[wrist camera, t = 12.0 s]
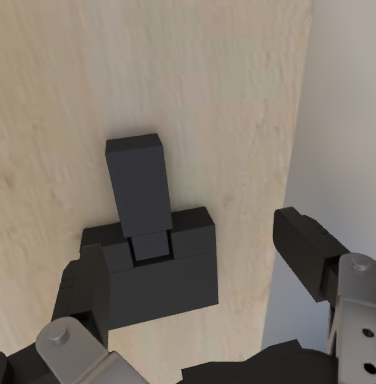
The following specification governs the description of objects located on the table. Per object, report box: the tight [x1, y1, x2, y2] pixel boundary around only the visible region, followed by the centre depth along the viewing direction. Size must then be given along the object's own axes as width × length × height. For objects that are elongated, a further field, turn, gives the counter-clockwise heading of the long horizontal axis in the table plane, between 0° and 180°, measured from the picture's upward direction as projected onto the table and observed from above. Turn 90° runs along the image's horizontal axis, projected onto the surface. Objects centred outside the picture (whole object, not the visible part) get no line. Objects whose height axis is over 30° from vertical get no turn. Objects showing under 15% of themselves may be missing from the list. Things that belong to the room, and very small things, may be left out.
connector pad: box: [105, 133, 173, 261], centre depth 30 cm, size 5×12×4 cm, turn 5°
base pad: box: [79, 207, 219, 330], centre depth 34 cm, size 14×12×4 cm
